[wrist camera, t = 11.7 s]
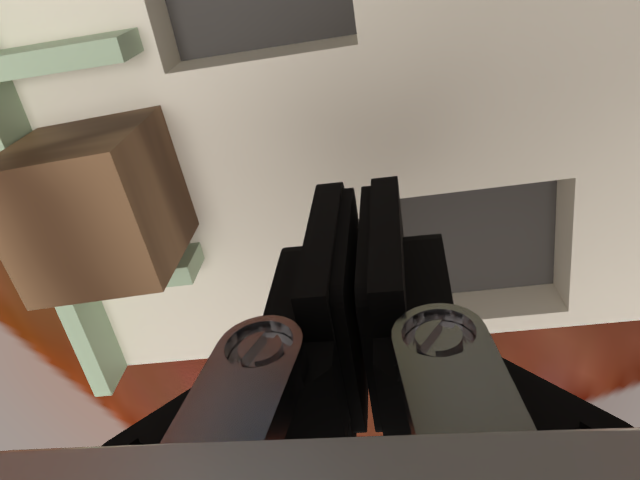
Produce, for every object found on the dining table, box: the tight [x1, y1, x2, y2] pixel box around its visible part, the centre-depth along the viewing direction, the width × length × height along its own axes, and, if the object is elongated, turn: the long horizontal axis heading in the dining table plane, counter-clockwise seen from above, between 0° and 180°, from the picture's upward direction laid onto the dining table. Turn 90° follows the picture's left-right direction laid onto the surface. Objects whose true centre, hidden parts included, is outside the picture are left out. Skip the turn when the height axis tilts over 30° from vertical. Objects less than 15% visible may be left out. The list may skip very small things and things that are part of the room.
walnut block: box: [0, 105, 199, 311], centre depth 21 cm, size 5×5×5 cm
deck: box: [0, 0, 640, 397], centre depth 22 cm, size 27×20×4 cm
